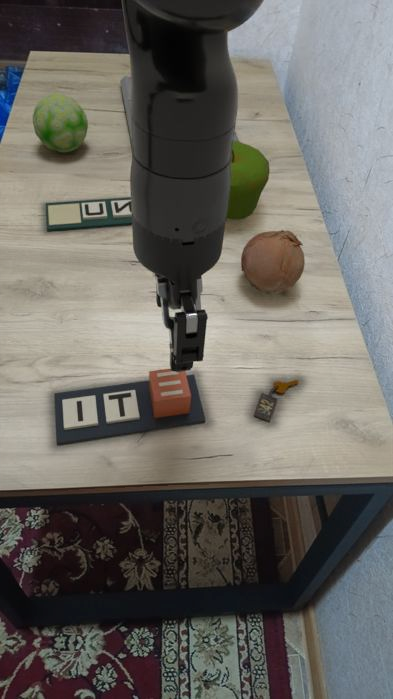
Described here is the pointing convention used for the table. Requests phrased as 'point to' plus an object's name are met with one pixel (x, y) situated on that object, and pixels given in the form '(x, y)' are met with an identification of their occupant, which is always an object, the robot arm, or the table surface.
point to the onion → (273, 261)
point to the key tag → (271, 400)
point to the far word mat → (88, 214)
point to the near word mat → (116, 412)
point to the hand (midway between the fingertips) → (173, 334)
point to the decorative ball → (60, 122)
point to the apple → (246, 180)
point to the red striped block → (169, 393)
